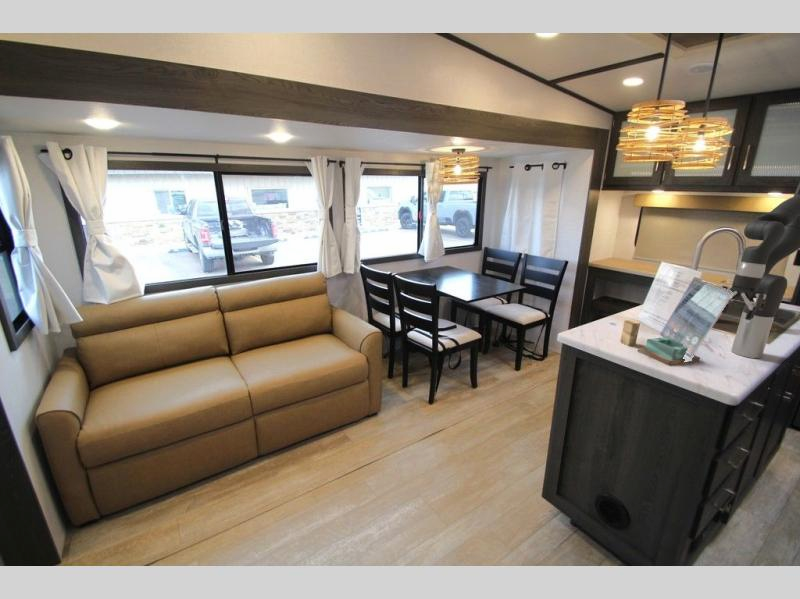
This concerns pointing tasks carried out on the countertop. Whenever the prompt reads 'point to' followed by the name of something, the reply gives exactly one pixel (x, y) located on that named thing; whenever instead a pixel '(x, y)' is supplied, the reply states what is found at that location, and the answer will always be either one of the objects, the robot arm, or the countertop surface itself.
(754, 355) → the robot arm
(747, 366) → the countertop surface
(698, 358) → the socket block
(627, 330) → the peg
